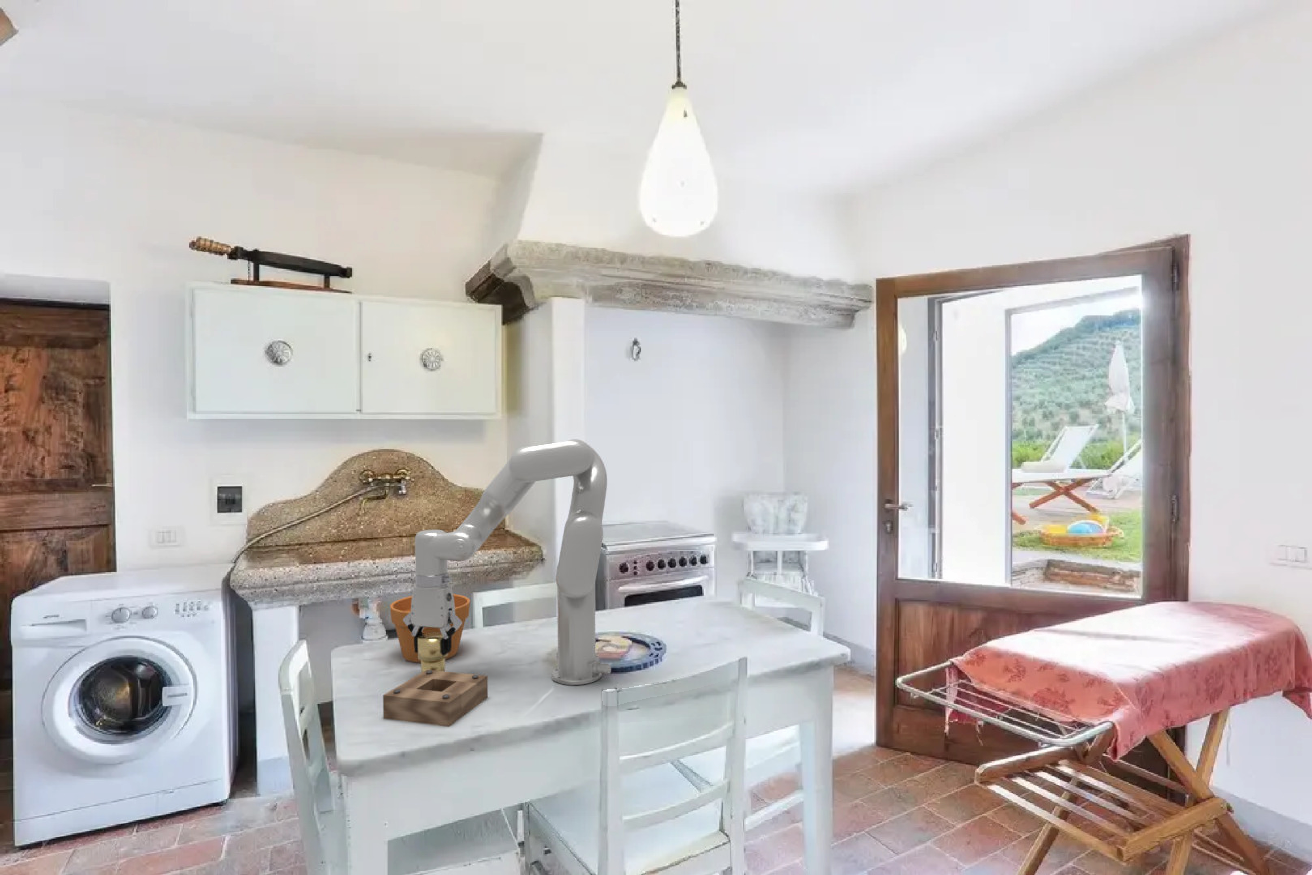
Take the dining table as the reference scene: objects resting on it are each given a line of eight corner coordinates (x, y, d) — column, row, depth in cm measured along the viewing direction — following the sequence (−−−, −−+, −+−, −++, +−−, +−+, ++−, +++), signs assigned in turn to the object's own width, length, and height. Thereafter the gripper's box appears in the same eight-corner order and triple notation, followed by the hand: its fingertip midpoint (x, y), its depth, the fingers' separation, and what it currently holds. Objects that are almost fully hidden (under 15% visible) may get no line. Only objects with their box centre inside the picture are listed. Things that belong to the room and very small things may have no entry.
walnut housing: (487, 701, 160) (487, 673, 160) (449, 731, 144) (448, 700, 144) (427, 694, 164) (426, 667, 164) (383, 722, 149) (383, 692, 149)
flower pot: (474, 640, 206) (473, 591, 205) (466, 664, 185) (465, 609, 185) (399, 645, 202) (398, 594, 202) (382, 669, 181) (382, 613, 181)
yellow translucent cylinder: (453, 673, 174) (452, 633, 174) (437, 683, 167) (436, 641, 167) (429, 671, 176) (428, 631, 176) (412, 681, 169) (411, 639, 169)
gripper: (471, 578, 173) (472, 650, 173) (410, 575, 177) (411, 644, 178) (454, 585, 165) (455, 659, 166) (391, 581, 170) (393, 654, 170)
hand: (432, 651), depth 172 cm, fingers closed on yellow translucent cylinder, 6 cm apart
